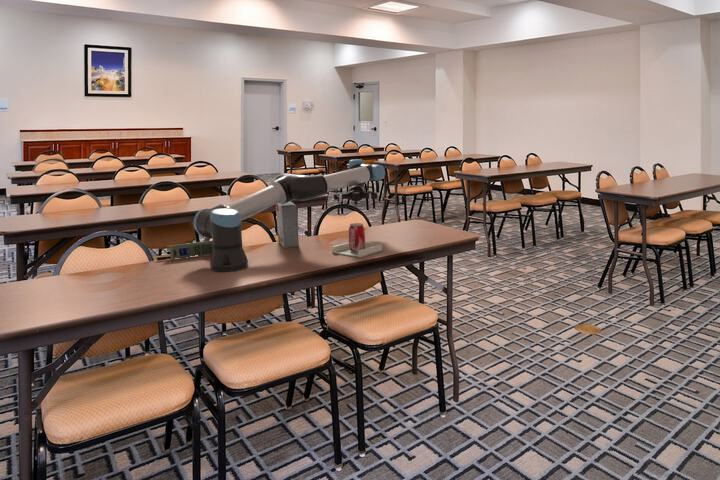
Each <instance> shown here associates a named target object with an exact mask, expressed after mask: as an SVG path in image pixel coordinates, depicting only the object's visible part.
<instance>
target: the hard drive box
mask: <svg viewBox="0 0 720 480" xmlns="http://www.w3.org/2000/svg"><path fill="white" fill-rule="evenodd" d="M297 209H298V208H297V205H296V204H295V203H294V202H292V201H289V202H287V203H285V204H283V205H281V204H279V203H277V204H275V211H276V225H277V226H276V228H277V240H278V244H280V245H281V247H282V248H283V249H287V248H288V247H289V248H297V247H299V246H300V244H299V241H300V239H299V238H300V237H299V227H298V223H299V222H298V210H297Z"/></svg>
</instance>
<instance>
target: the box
mask: <svg viewBox="0 0 720 480" xmlns="http://www.w3.org/2000/svg"><path fill="white" fill-rule="evenodd" d="M331 249H332V251H331V252H332V254H335V255H340V256H347V257H353V258H359V259H360V258H364V257H367V256H371V255H374V254H378V253H381V252H383V251H384V244H383V243H377V242H375V243H374V242H368V241H365V249H362V250H359V251H358V252H352V251H351V250H350V247H349V241H348V242H344V243H342V244H338V245H337V244H336V245H333V246H332V247H331Z"/></svg>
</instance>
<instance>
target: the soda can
mask: <svg viewBox="0 0 720 480" xmlns="http://www.w3.org/2000/svg"><path fill="white" fill-rule="evenodd" d="M365 231H366V229H365V227H364V224H363V223H359V222H357V223H356V222H355V223H350V224H349V228H348V242H349V247H350V250H351V251H352V252H358V251H359V250H362V249H365V242H366V232H365Z"/></svg>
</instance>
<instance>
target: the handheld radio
mask: <svg viewBox="0 0 720 480" xmlns="http://www.w3.org/2000/svg"><path fill="white" fill-rule="evenodd" d="M166 248H167V252H166V254H167V255H169V256H160V257H156V261H158V262H159V261H165V260H171V259H175V258H185V259H187V258H186V257H190V256H195V255H198V256H202V257H204V256H203V255H210V256H212V253H213V241H212V240H207V241H206V240H205V241H196V242H189V243H188V242H187V243H177V244H171V245H167V247H166Z"/></svg>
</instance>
